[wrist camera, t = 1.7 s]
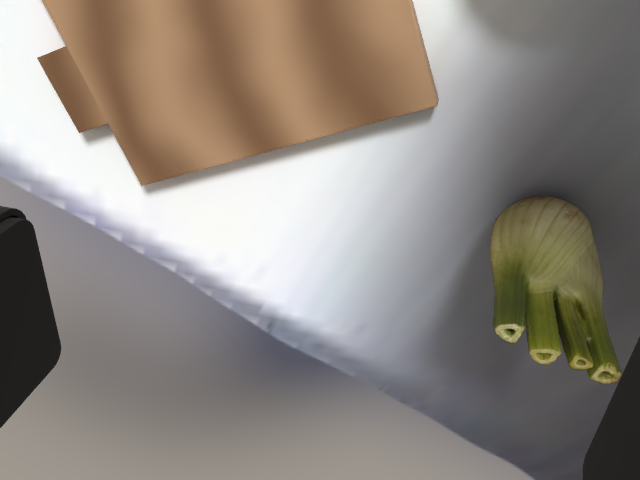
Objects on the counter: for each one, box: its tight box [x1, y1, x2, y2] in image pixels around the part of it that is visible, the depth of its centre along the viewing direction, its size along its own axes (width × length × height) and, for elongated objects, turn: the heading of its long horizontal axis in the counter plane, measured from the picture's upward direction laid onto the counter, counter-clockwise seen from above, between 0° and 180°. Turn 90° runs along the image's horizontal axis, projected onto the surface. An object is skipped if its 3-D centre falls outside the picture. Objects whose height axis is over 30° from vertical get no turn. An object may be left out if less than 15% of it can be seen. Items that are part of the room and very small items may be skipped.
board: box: [37, 0, 438, 186], centre depth 33 cm, size 22×14×1 cm, turn 110°
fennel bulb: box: [490, 196, 622, 384], centre depth 30 cm, size 6×5×12 cm
